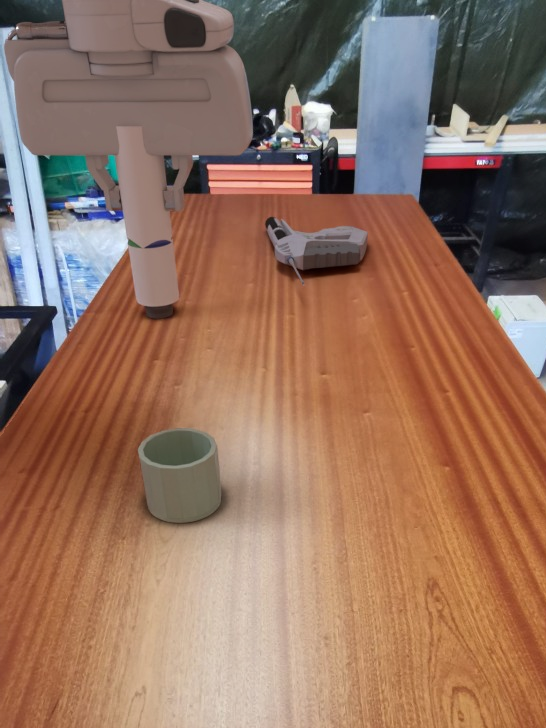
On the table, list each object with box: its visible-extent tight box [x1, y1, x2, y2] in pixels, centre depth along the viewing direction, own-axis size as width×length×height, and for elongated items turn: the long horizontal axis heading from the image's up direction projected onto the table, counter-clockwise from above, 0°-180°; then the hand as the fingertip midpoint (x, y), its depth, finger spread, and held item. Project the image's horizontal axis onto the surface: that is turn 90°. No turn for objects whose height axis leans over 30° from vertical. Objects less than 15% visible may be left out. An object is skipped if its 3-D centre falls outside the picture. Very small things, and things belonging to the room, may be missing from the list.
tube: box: [113, 126, 180, 307], centre depth 69 cm, size 4×4×15 cm
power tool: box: [264, 216, 369, 287], centre depth 142 cm, size 45×5×20 cm
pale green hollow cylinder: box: [137, 427, 222, 524], centre depth 82 cm, size 8×8×7 cm
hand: (146, 209), depth 68 cm, fingers closed on tube, 4 cm apart
